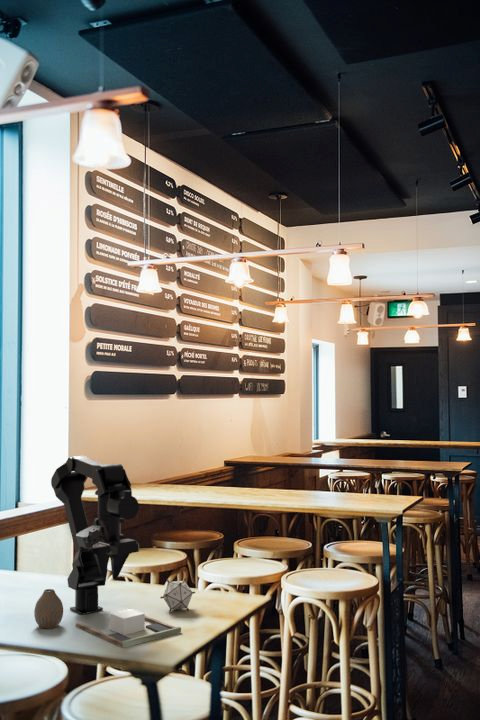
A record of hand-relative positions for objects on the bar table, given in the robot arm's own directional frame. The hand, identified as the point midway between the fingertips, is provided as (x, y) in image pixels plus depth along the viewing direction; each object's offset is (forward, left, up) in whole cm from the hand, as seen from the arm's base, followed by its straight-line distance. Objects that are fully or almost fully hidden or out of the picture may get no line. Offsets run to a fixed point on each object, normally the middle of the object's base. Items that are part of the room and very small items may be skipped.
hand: (108, 577), depth 192 cm
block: (+8, 0, -11) cm, 14 cm away
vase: (-7, -13, -11) cm, 18 cm away
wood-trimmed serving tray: (+8, 0, -11) cm, 14 cm away
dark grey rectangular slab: (+14, 0, -11) cm, 17 cm away
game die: (+3, +19, -11) cm, 22 cm away
